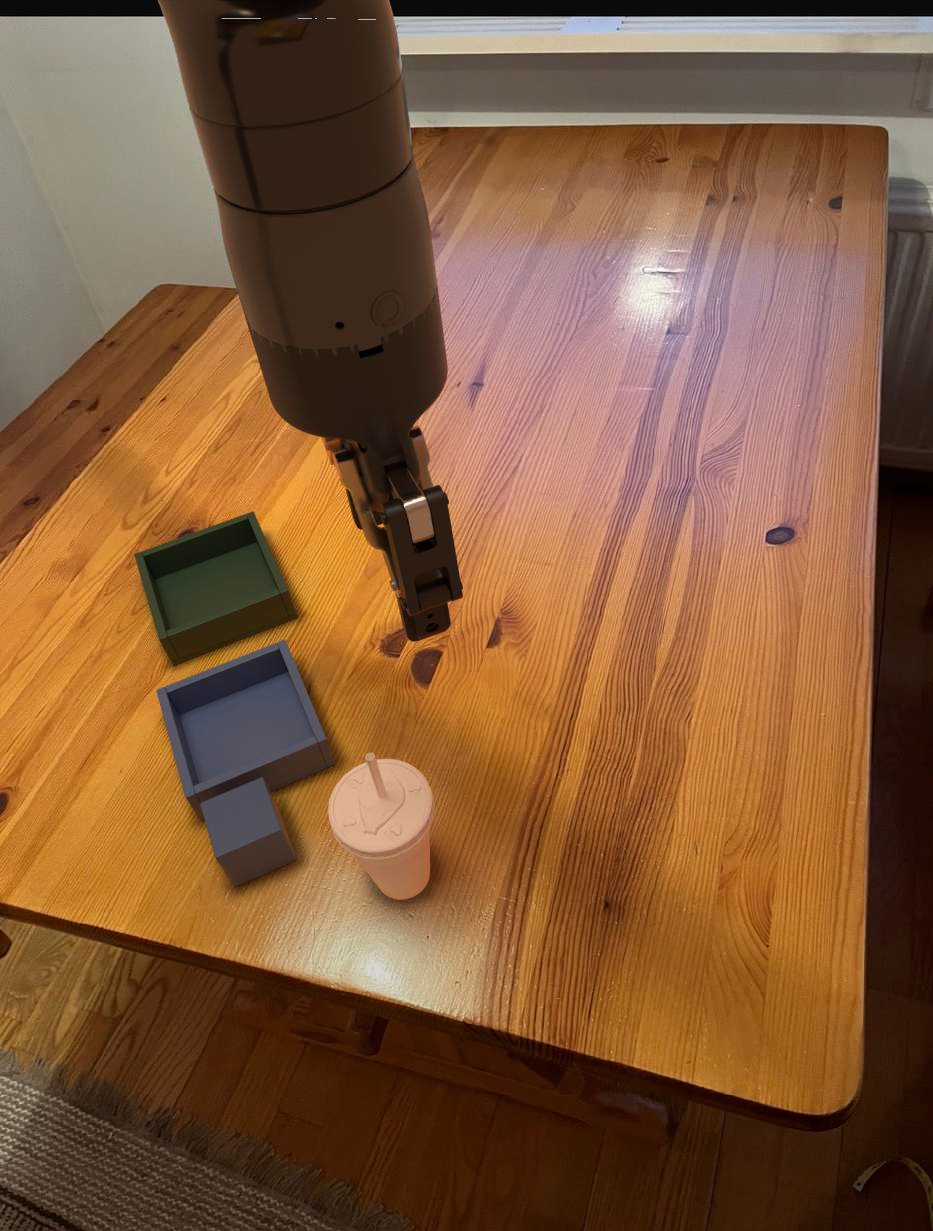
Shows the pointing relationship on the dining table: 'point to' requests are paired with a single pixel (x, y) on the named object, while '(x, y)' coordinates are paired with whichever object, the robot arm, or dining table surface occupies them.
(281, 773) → the blue bin
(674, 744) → the dining table surface
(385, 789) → the smoothie
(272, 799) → the blue block
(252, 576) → the green bin
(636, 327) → the dining table surface
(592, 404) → the dining table surface
